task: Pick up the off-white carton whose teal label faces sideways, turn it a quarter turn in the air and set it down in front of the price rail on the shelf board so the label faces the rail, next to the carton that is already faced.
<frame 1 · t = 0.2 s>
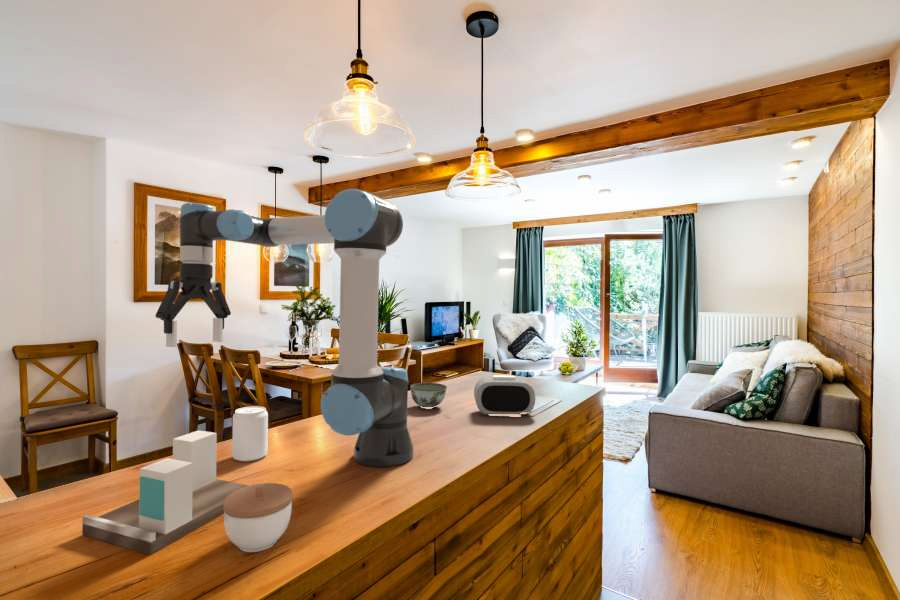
hand: (195, 344, 118), 28 cm above the kitchen island, fingers open, 13 cm apart
alarm clock: (503, 414, 158), on the kitchen island
tall carton: (194, 484, 92), point 2 cm above the kitchen island, touching shelf board
beverage can: (250, 457, 113), on the kitchen island
bowl: (427, 408, 165), on the kitchen island
faced carton: (166, 523, 76), point 2 cm above the kitchen island, touching shelf board
shelf board: (176, 514, 84), on the kitchen island
lidded jar: (258, 543, 75), on the kitchen island
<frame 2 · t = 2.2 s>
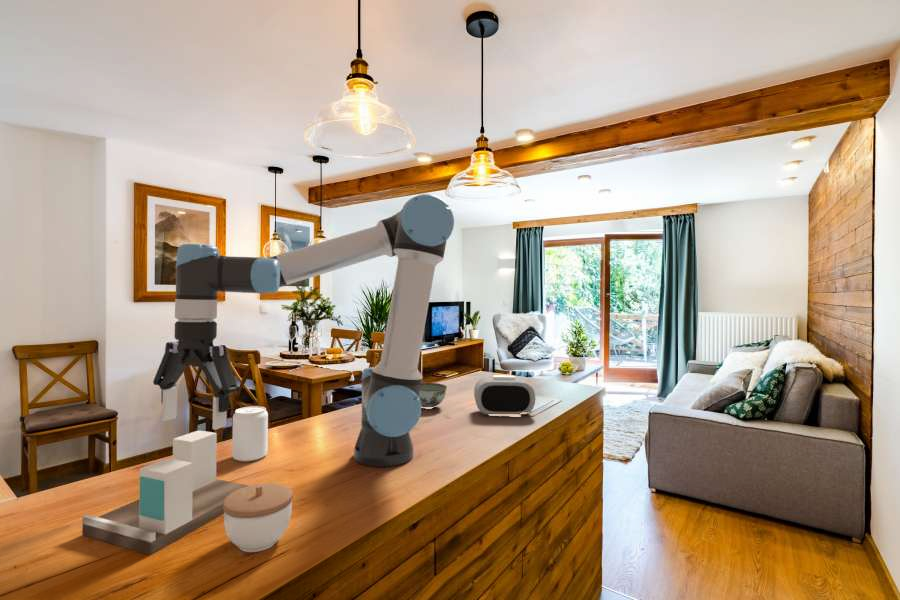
hand: (193, 423, 92), 15 cm above the kitchen island, fingers open, 13 cm apart
nothing on the kitchen island moved.
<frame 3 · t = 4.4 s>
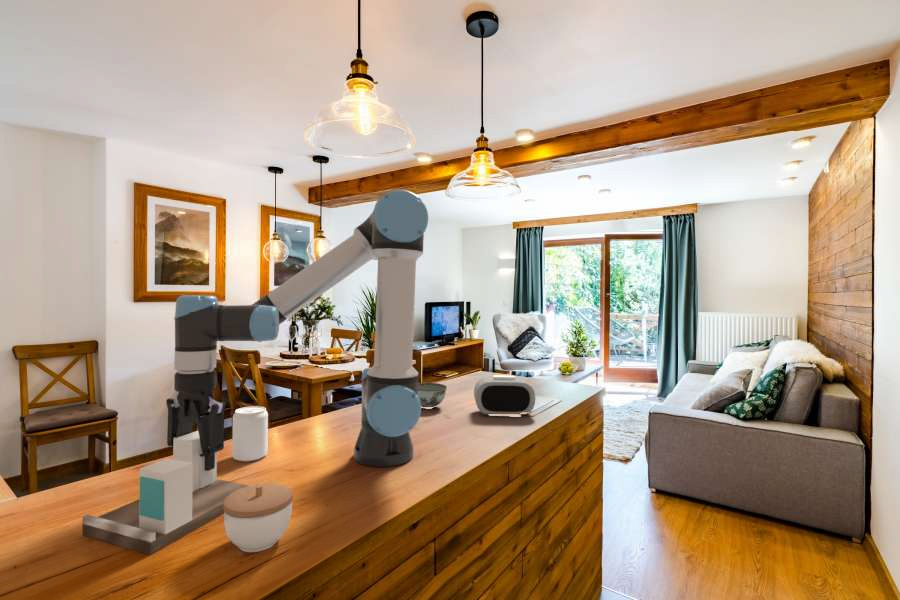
hand: (194, 482, 92), 2 cm above the kitchen island, fingers closed on tall carton, 5 cm apart
tall carton: (195, 484, 92), point 2 cm above the kitchen island, touching gripper, shelf board
everything else where it was.
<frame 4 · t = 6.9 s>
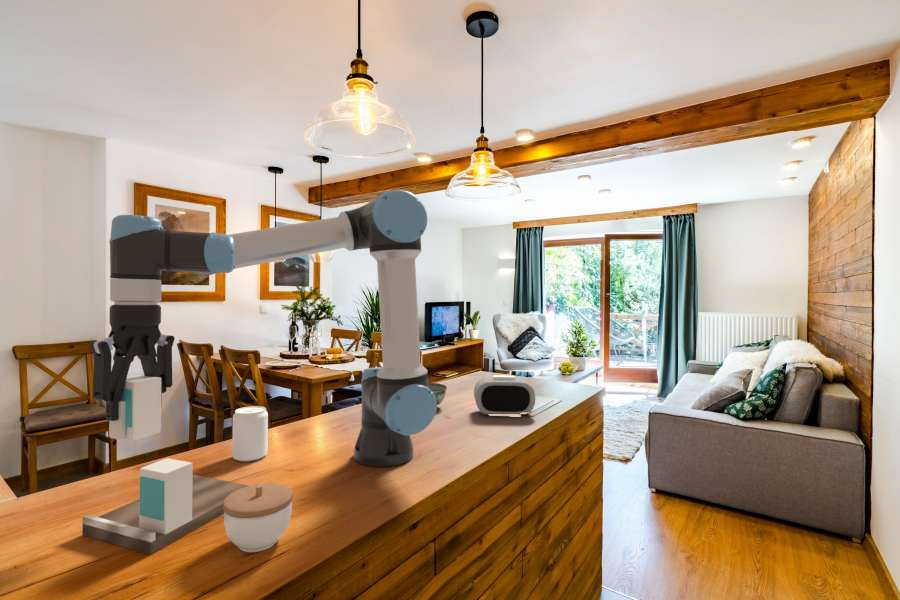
hand: (134, 432, 80), 16 cm above the kitchen island, fingers closed on tall carton, 5 cm apart
tall carton: (135, 434, 80), point 16 cm above the kitchen island, touching gripper
everything else where it was.
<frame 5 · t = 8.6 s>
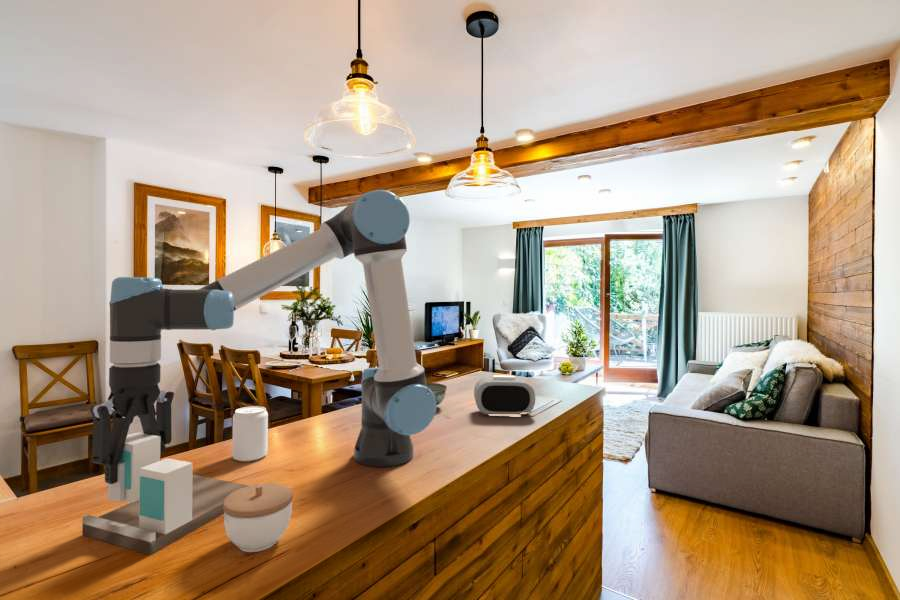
hand: (133, 492, 80), 5 cm above the kitchen island, fingers closed on tall carton, 5 cm apart
tall carton: (134, 493, 80), point 5 cm above the kitchen island, touching gripper
everything else where it was.
when the fingers open (3 cm above the kitchen island, at t = 9.8 s): tall carton stays where it is, resting on shelf board.
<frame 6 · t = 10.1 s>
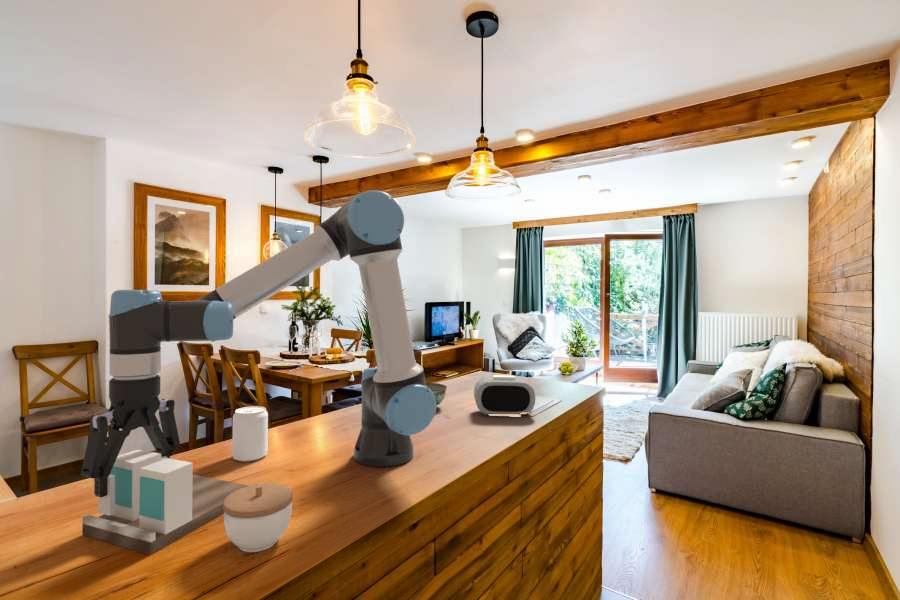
hand: (134, 501, 80), 4 cm above the kitchen island, fingers open, 9 cm apart
tall carton: (135, 511, 80), point 2 cm above the kitchen island, touching shelf board
everything else where it was.
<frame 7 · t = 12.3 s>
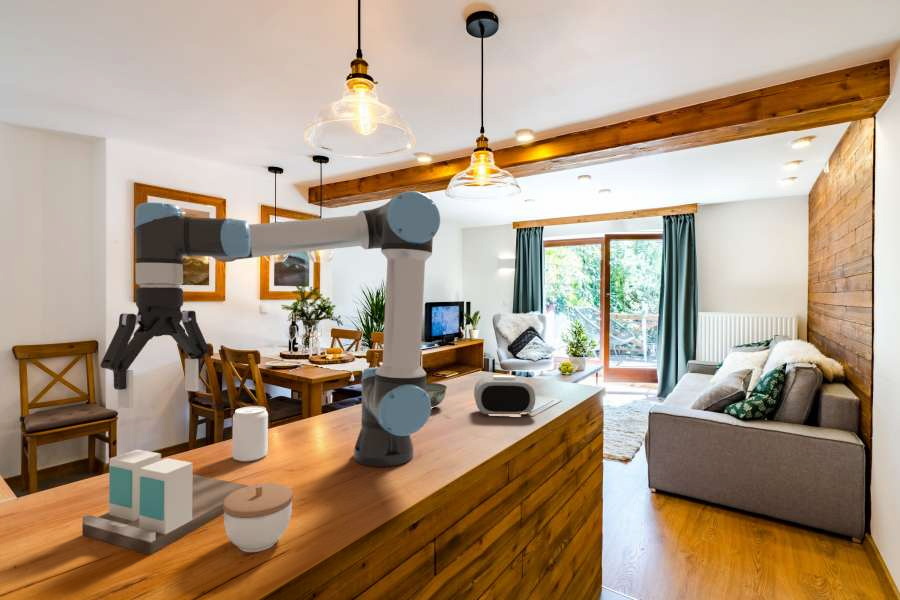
hand: (161, 398, 85), 21 cm above the kitchen island, fingers open, 13 cm apart
nothing on the kitchen island moved.
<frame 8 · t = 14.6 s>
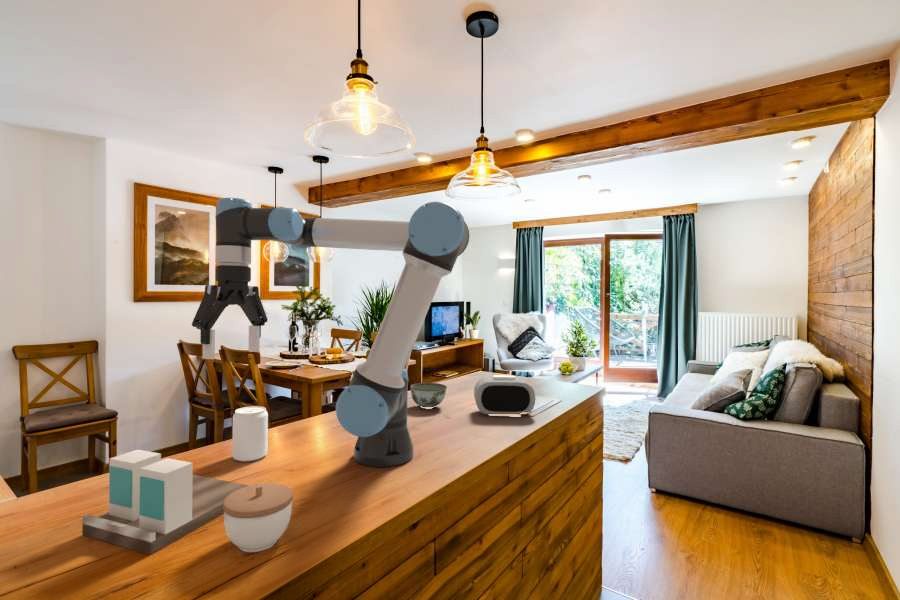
hand: (232, 355, 106), 27 cm above the kitchen island, fingers open, 13 cm apart
nothing on the kitchen island moved.
at the end: tall carton inside the target area (0.5 cm from its centre), point 2.0 cm above the kitchen island; tall carton tilted 0°; the gripper is holding nothing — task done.
